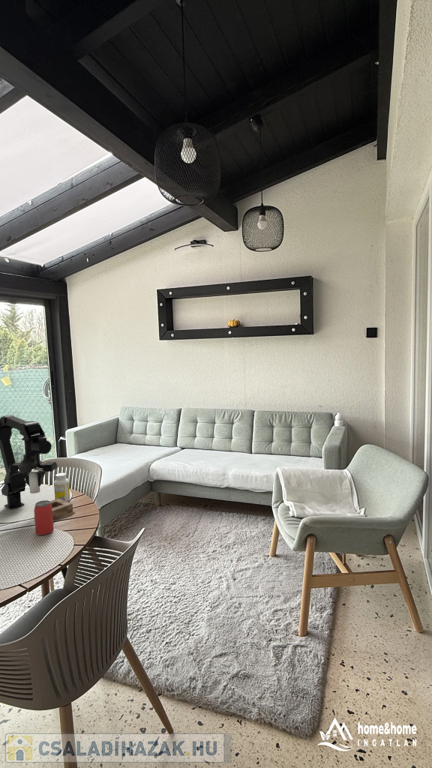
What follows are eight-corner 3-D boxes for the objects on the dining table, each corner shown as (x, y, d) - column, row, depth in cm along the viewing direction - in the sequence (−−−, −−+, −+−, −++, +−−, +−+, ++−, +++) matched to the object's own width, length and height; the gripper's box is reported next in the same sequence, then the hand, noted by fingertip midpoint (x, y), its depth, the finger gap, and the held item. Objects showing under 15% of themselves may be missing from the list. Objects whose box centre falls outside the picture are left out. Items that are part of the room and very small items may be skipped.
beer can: (47, 536, 160) (45, 506, 159) (32, 535, 162) (30, 505, 160) (56, 529, 167) (55, 500, 165) (42, 527, 168) (40, 499, 167)
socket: (34, 515, 180) (33, 506, 180) (59, 506, 190) (59, 497, 189) (49, 522, 173) (48, 512, 173) (74, 512, 182) (74, 503, 182)
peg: (28, 493, 178) (26, 473, 177) (32, 490, 182) (31, 470, 181) (37, 493, 178) (35, 473, 177) (41, 490, 182) (40, 470, 181)
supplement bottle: (64, 496, 202) (63, 471, 200) (72, 499, 198) (71, 473, 196) (52, 501, 196) (50, 475, 195) (60, 504, 192) (58, 477, 191)
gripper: (0, 456, 171) (3, 493, 172) (44, 455, 170) (47, 492, 171) (15, 449, 182) (17, 484, 183) (56, 448, 181) (58, 483, 182)
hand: (34, 486), depth 180 cm, fingers closed on peg, 4 cm apart
